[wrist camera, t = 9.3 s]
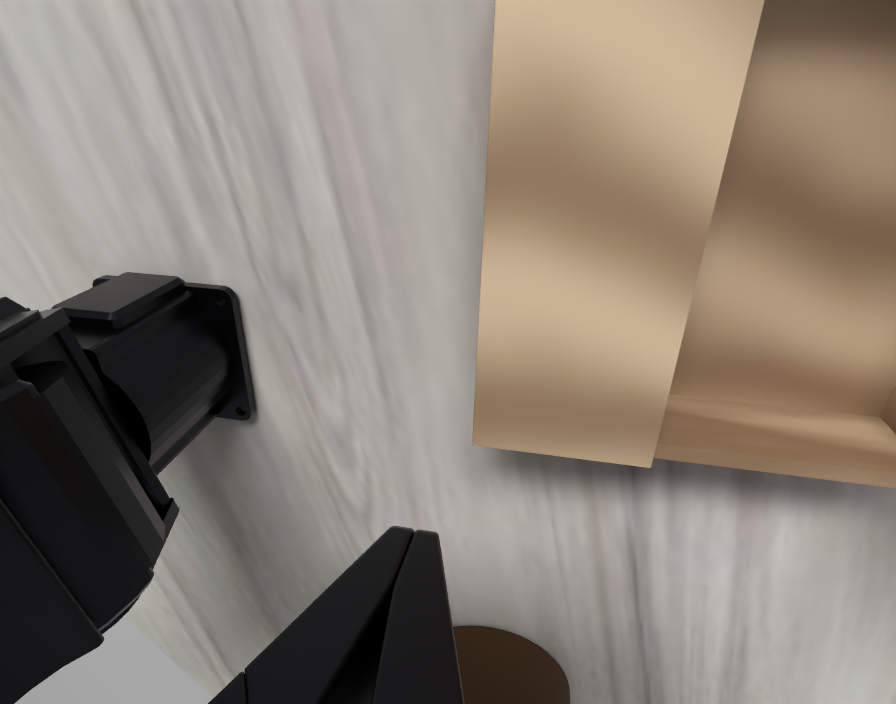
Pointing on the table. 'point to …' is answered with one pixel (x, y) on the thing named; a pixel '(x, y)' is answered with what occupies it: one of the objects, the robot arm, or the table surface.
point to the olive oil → (507, 669)
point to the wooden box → (800, 260)
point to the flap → (599, 213)
